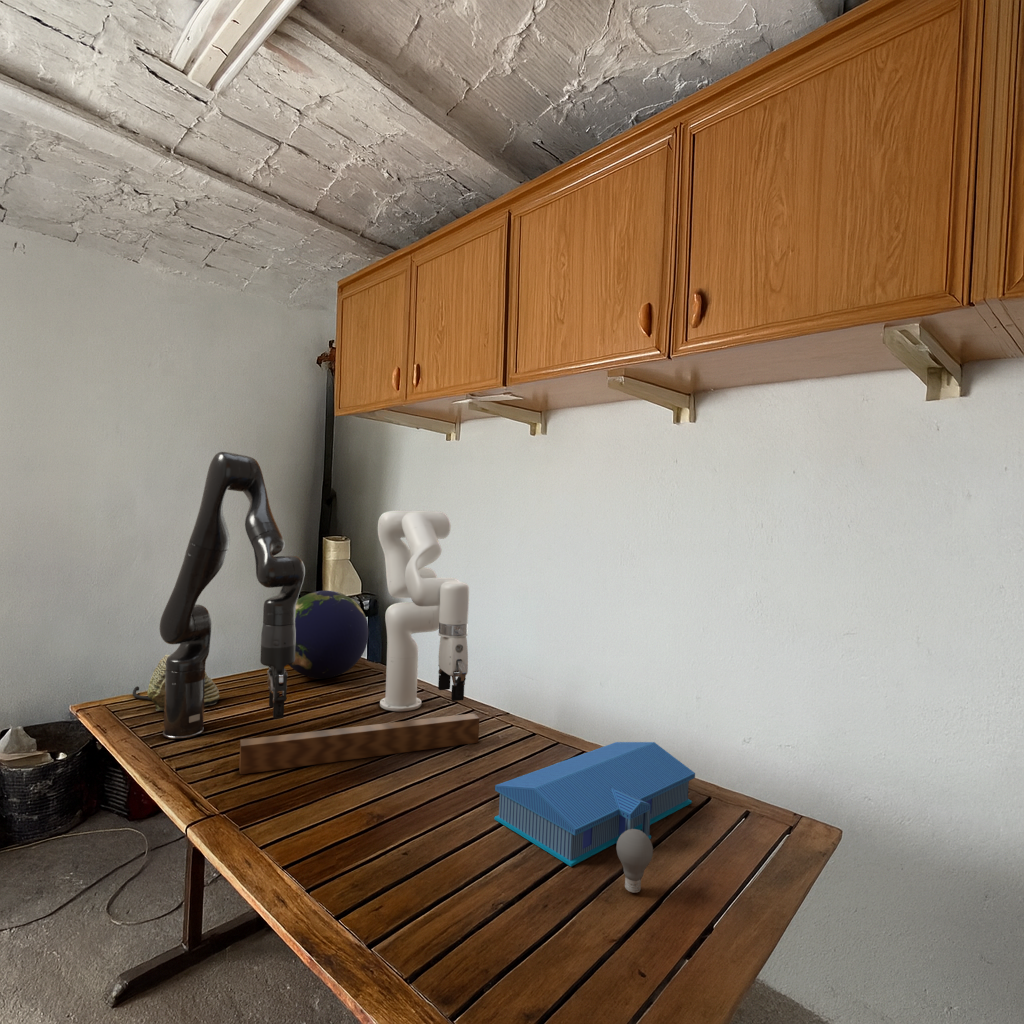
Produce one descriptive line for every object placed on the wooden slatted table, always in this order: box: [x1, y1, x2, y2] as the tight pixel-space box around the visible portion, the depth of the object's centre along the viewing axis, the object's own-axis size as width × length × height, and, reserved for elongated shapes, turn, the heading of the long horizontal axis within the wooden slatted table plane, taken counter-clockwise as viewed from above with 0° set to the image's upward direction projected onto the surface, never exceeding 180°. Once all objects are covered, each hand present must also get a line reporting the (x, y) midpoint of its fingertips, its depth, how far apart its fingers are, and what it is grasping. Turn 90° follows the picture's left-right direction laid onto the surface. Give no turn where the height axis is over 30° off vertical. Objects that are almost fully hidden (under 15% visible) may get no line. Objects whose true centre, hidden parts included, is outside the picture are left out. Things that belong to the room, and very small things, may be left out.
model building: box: [493, 741, 696, 868], centre depth 132 cm, size 39×24×10 cm, turn 132°
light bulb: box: [615, 829, 654, 894], centre depth 106 cm, size 6×6×10 cm
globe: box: [288, 590, 369, 680], centre depth 219 cm, size 30×30×30 cm
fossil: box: [147, 654, 221, 712], centre depth 185 cm, size 9×18×15 cm, turn 132°
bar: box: [238, 713, 480, 775], centre depth 157 cm, size 58×4×6 cm, turn 115°
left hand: (276, 712), depth 146 cm, fingers open, 8 cm apart
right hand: (450, 694), depth 165 cm, fingers open, 9 cm apart
